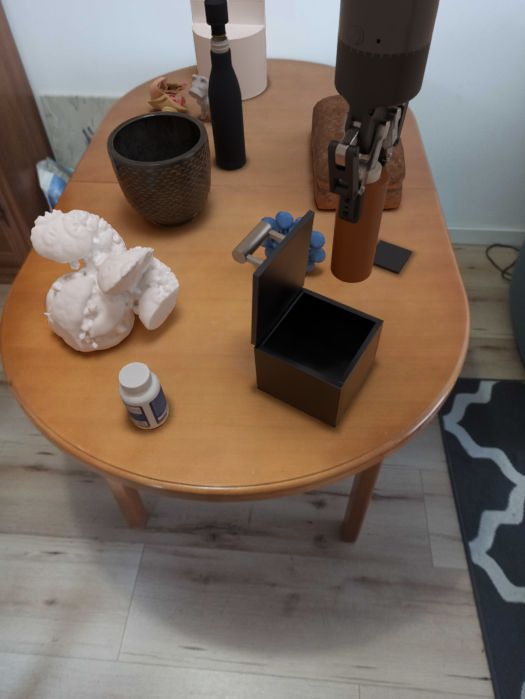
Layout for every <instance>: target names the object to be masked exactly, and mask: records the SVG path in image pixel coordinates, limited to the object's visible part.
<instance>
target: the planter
mask: <svg viewBox="0 0 525 699" xmlns="http://www.w3.org/2000/svg"><path fill="white" fill-rule="evenodd" d="M106 150H107V154H108V157H109V160H110V163H111V167H112V170H113V172H114V175H115V178H116V180H117V183H118V185H119V188H120V190H121V193H122V194H123V196H124V197H125V200H126V202H127V203H128V205H129V206H130V207H131V209H132V210H133V211H134V212H135V213H136V214H137V215H138V216H140V217H141V218H143V219H145V220H147V221H149V222H151V223H153V224H154V225H156V226H159V227H162V228H168V229H173V228H179V227H182V226H184V225H187V224H189V223H190V222H191V221H192V220H193V219H194V218H195V217H196V215H197V214H198V213H199V212H200V211H201V210H202V209H203V208H204V206H205V204H206V203H207V200H208V198H209V194H210V191H211V184H212V165H211V164H212V163H211V162H212V161H211V149H210V142H209V134H208V131H207V127H206V126H205V124H204V123H203V122H202V121H201V120H199V119H198V118H197V117H195V116H192V115H190V114H187V113H184V112H181V113H179V112H171V111H162V112H161V111H153V112H146V113H143V114H138V115H136V116H133V117H130V118H128V119H127V120H125V121H122V122H121V123H120V124H118V125H117V126H116V127H115V128H114V129H112V131H111V132H110V133H109V135H108V137H107V141H106Z"/></svg>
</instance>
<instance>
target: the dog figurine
mask: <svg viewBox="0 0 525 699" xmlns="http://www.w3.org/2000/svg"><path fill="white" fill-rule="evenodd" d="M191 76H192V82H191V83H190V84H191V85H190V88H189V90H188V92H187V93H188V95H189V96H190V97H191V98H193V99H195V100H196V104H197V105H198V106H199V107H200V112H201V113H200V117H199V119H200V120H205V119H206V118H207V112H208V111H209V112H210V108H209V100H208V84H209V77H210V76H209V77H208V79H207V78H206V77H204V76H198V74H195V73H193V74H192V75H191Z"/></svg>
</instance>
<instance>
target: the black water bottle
mask: <svg viewBox="0 0 525 699" xmlns="http://www.w3.org/2000/svg"><path fill="white" fill-rule="evenodd" d="M204 6H205V15H206V23H207V24H208V25H210V26H211V36H212V38H211V41H210V44H211V50H210V56H211V65H212V67H211V72H210V77H209V84H208V100H209V108H210V111H209V114H210V121H211V122H210V124H211V130H212V140H213V148H214V156H215V162H216V166H217V168H220V169H222V170H224V171H236V170H239V169H241V168H243V167H244V166H245V165H246V163H247V155H246V154H247V153H246V138H245V126H244V113H243V111H244V110H243V100H242V96H241V90H240V86H239V82H238V79H237V76H236V74H235V71H234V69H233V66H232V59H231V50H230V48H229V44H228V43H229V40H228V38H227V36H225V35H226V30H225V24H227V23H228V22H229V19H228V6H227V0H205V1H204Z"/></svg>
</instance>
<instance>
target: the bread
mask: <svg viewBox="0 0 525 699" xmlns="http://www.w3.org/2000/svg"><path fill="white" fill-rule="evenodd" d="M348 110H349V105H348V103H347V102H346V100H345V99H344V98H343V97H342V96H341V95H340V94H335V95H334V94H333V95H329V96H326V97H323V98H321V99H320V100H318V101H316V103H315V105H314V106H313V108H312V116H311V132H310V134H311V147H312V160H313V184H314V186H313V187H314V197H315V201H316V205H317V206H316V207H317V209H321V210H336V204H337V194H334V193H331V192H330V190H329V170H328V145H329V143H330V141H331V140H332V139H333V140H336V141H340V142H341V140H342V139H343V137H344V131H343V125H344V121H345V117H346V114H347V112H348ZM367 156H368V155H363V154H361V157H367ZM361 157H360V158H361ZM368 157H369V156H368ZM386 162H387V165H386V170H387V171H388V173H389V181H388V187H387V192H386V197H385V203H384V208H383V210H384V209H386V210H387V209H396V208H399V206H400V205H401V203H402V198H403V188H404V187H403V182H404V180H405V179H406V175H407V174H406V173H407V171H406V170H407V168H406V160H405V150H404V144H403V141H402V138H401V137H400V141H399V143H398V145H397V146H396V147H393V146H392V156H391V158H390V159H389V161H386Z"/></svg>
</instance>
